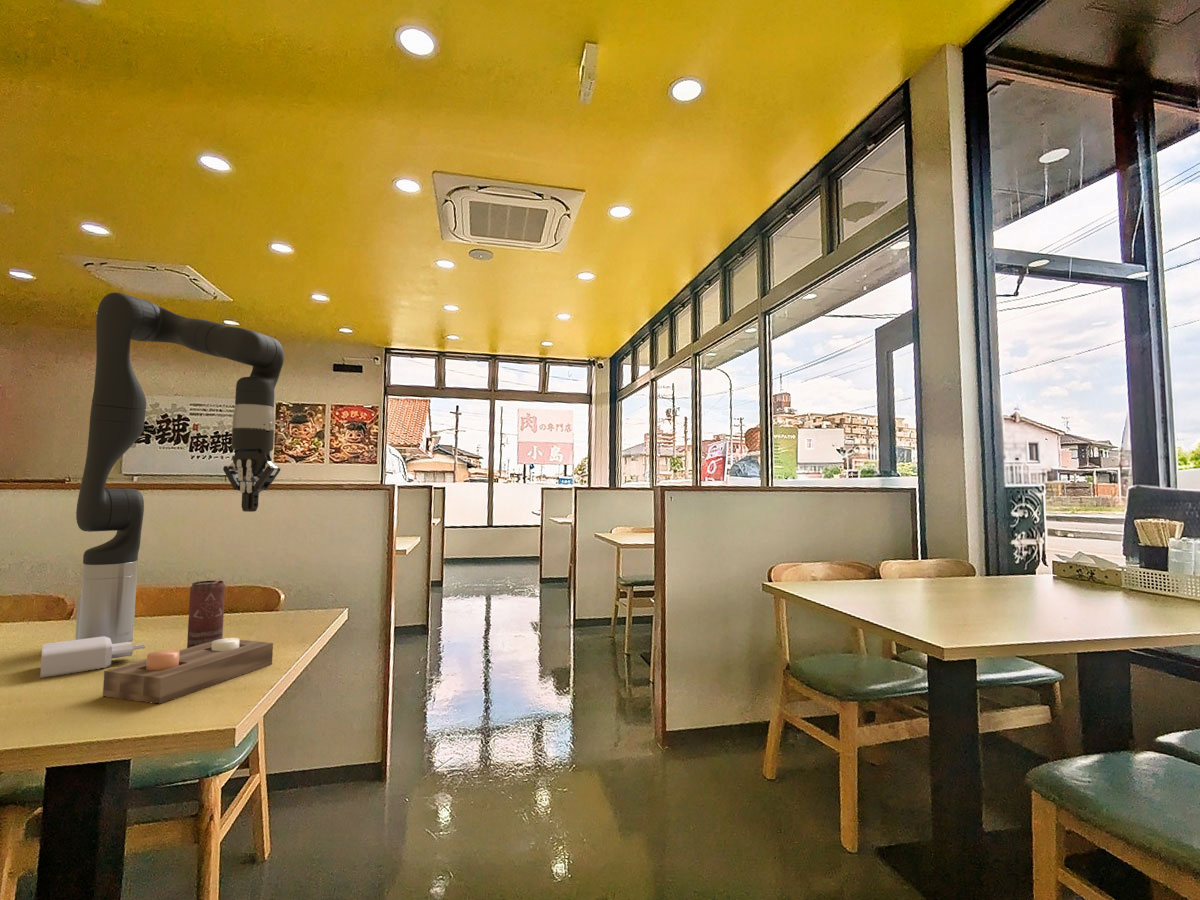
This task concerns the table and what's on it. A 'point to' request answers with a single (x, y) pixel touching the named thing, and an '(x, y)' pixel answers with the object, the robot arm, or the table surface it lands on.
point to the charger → (82, 655)
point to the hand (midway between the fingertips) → (249, 511)
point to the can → (205, 612)
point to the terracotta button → (162, 660)
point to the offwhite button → (225, 644)
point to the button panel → (186, 672)
